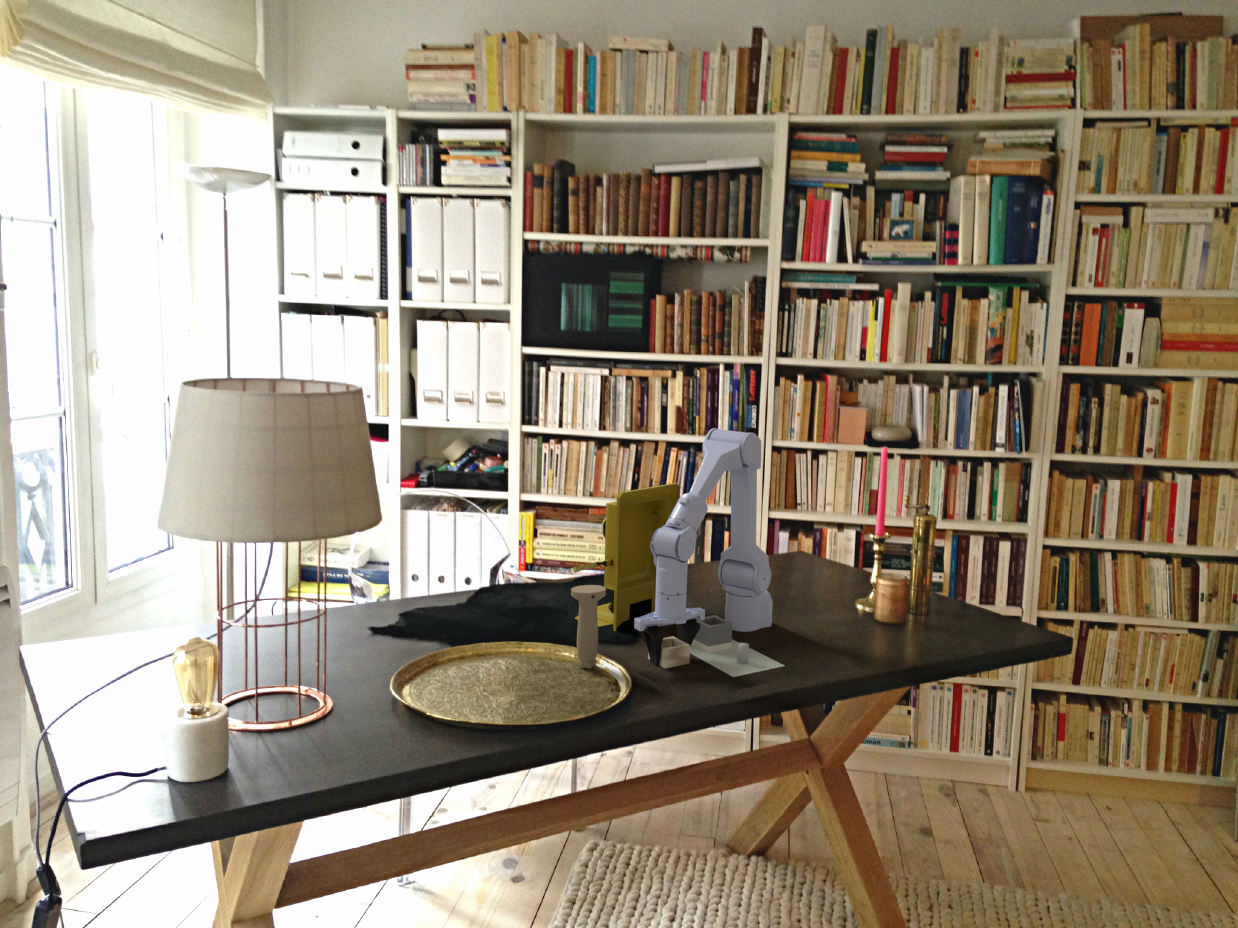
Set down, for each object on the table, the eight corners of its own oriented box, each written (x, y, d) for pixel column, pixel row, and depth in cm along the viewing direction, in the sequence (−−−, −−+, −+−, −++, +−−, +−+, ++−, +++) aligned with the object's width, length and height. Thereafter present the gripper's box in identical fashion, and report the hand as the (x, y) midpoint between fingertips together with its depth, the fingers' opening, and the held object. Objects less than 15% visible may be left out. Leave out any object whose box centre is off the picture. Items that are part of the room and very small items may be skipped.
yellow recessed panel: (653, 597, 233) (657, 469, 227) (699, 612, 223) (704, 478, 218) (550, 627, 211) (552, 485, 206) (596, 644, 201) (600, 496, 196)
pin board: (720, 640, 205) (721, 616, 204) (784, 673, 188) (786, 647, 187) (671, 649, 199) (672, 625, 198) (733, 684, 182) (734, 658, 181)
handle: (607, 668, 188) (609, 590, 186) (575, 672, 186) (576, 594, 183) (597, 659, 193) (599, 583, 190) (566, 663, 190) (567, 586, 188)
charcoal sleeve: (714, 639, 201) (715, 615, 200) (731, 647, 197) (732, 623, 196) (691, 643, 198) (692, 619, 198) (707, 652, 194) (709, 627, 193)
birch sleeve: (672, 661, 193) (673, 636, 192) (689, 670, 188) (690, 645, 187) (647, 665, 190) (648, 640, 189) (664, 675, 185) (665, 649, 184)
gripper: (649, 602, 179) (647, 674, 182) (715, 591, 187) (712, 661, 189) (629, 591, 185) (627, 662, 188) (693, 582, 193) (691, 649, 195)
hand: (668, 661), depth 189 cm, fingers closed on birch sleeve, 6 cm apart
